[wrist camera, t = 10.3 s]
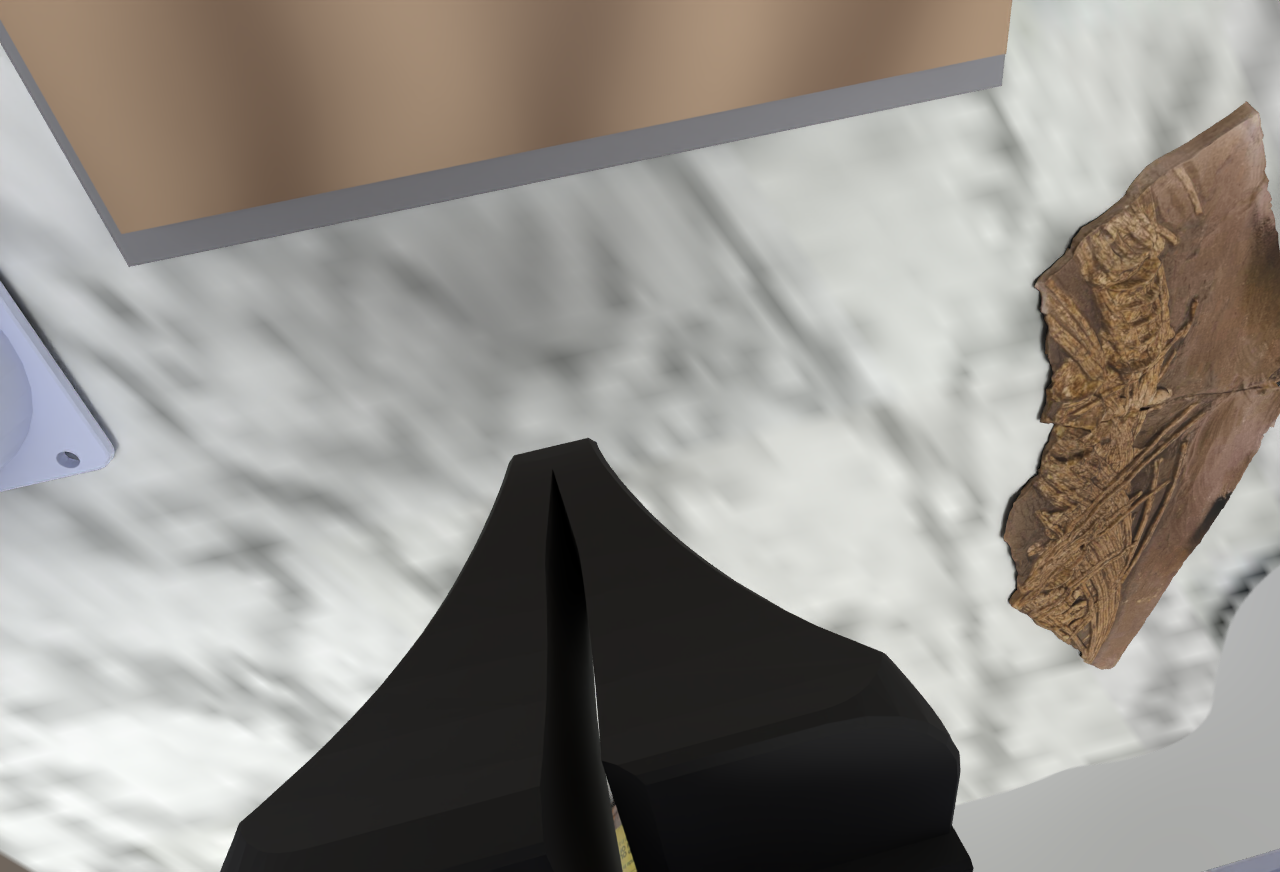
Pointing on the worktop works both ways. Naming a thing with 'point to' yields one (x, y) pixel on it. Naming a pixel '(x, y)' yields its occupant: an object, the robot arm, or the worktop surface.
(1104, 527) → the wooden fragment
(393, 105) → the walnut floorboard
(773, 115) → the underlay mat
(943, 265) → the worktop surface
